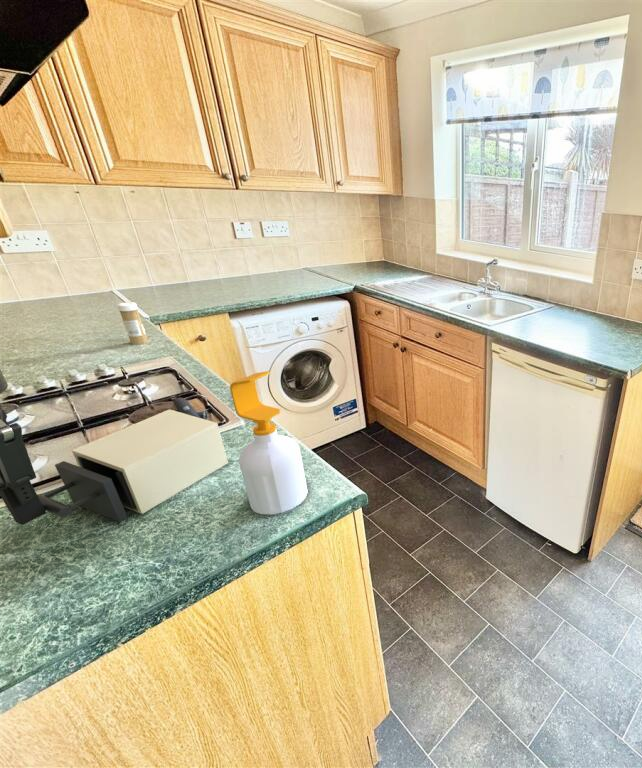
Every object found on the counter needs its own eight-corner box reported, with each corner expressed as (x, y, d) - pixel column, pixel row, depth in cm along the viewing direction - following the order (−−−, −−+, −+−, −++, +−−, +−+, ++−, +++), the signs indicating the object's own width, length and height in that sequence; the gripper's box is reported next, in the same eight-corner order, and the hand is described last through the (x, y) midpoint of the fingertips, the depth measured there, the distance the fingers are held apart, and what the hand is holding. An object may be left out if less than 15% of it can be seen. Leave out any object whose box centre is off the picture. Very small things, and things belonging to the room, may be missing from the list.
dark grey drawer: (81, 544, 62) (60, 503, 59) (33, 523, 65) (11, 483, 62) (206, 471, 79) (196, 436, 76) (164, 457, 82) (152, 422, 79)
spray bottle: (280, 522, 70) (250, 390, 59) (238, 508, 72) (202, 379, 62) (319, 490, 77) (298, 368, 67) (280, 478, 80) (254, 359, 70)
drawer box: (142, 516, 69) (123, 469, 65) (92, 496, 73) (71, 450, 69) (228, 464, 83) (217, 422, 79) (182, 450, 86) (169, 409, 82)
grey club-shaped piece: (217, 436, 91) (211, 414, 89) (177, 447, 87) (170, 424, 84) (200, 405, 103) (194, 385, 100) (165, 414, 98) (158, 392, 96)
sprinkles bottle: (152, 342, 138) (139, 302, 133) (142, 346, 134) (129, 305, 129) (137, 341, 138) (123, 301, 132) (127, 346, 134) (112, 305, 128)
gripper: (23, 367, 52) (92, 513, 62) (-37, 349, 56) (37, 490, 66) (-69, 390, 46) (24, 549, 56) (-130, 369, 49) (-32, 521, 59)
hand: (31, 517), depth 61 cm, fingers closed
